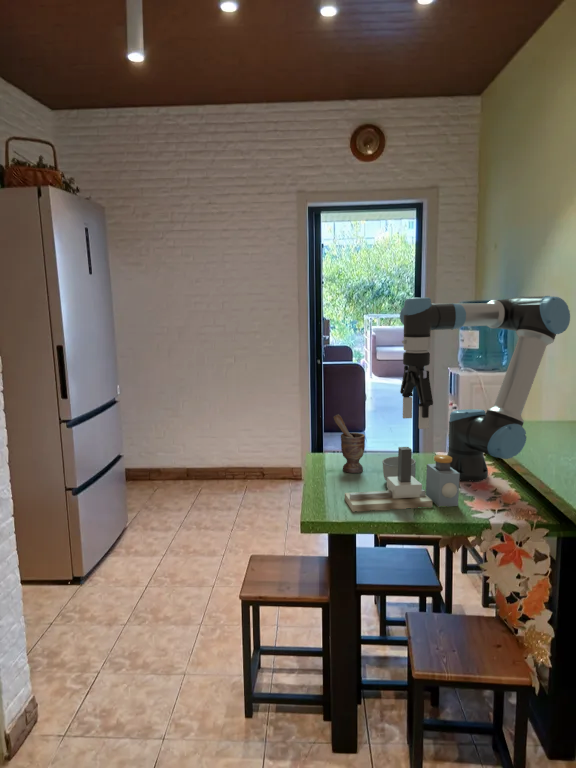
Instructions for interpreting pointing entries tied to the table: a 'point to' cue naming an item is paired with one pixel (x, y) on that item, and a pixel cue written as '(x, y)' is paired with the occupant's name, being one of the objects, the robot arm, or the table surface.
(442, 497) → the blue-grey button box
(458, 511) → the table surface
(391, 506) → the rail board
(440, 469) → the button
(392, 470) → the teacup
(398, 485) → the carriage
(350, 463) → the mortar and pestle
